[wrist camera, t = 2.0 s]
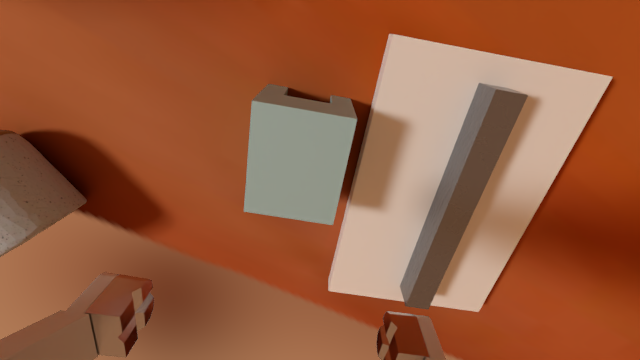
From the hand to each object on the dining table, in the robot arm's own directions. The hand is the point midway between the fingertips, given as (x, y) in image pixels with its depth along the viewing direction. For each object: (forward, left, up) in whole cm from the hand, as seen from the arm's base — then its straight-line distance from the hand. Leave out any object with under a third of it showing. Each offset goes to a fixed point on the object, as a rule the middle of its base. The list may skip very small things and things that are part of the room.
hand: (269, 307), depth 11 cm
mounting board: (+3, +13, -17) cm, 22 cm away
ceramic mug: (+8, -24, -17) cm, 30 cm away
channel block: (0, 0, -17) cm, 17 cm away
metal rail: (+3, +13, -15) cm, 20 cm away
